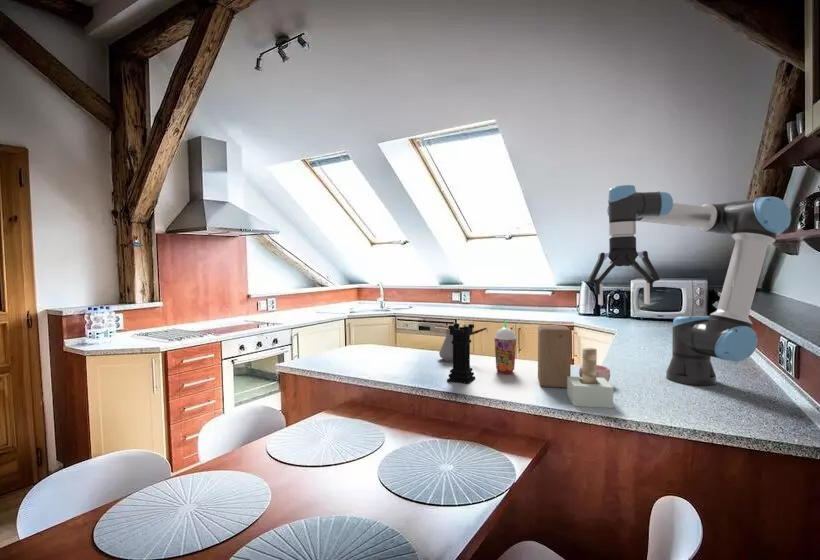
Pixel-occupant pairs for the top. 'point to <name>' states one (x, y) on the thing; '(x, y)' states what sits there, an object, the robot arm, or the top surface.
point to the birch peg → (589, 365)
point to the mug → (599, 372)
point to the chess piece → (461, 354)
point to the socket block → (590, 393)
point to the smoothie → (505, 350)
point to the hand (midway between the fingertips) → (623, 304)
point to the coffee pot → (451, 346)
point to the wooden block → (554, 355)
